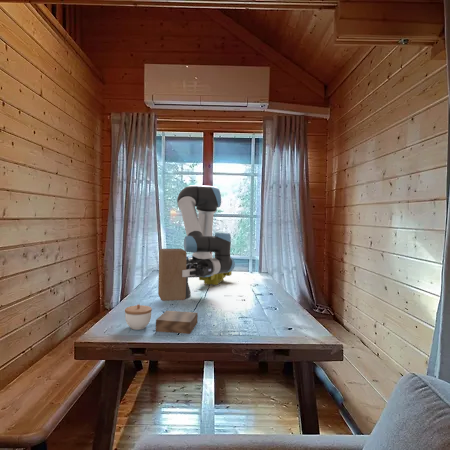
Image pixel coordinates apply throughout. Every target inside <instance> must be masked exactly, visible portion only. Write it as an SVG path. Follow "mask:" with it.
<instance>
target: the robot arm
mask: <svg viewBox="0 0 450 450" xmlns="http://www.w3.org/2000/svg"><path fill="white" fill-rule="evenodd" d="M221 195H222V194H221V192H220V189H219V188H218V187H217V186H213V185H194V184H192V185H188V186H185V187H184V188H182V190H181V191H180V192H179V193H178V195H177V200H176V203H177V207H178V209H179V210H180V212H181V217H182V220H183V224H184V229H185V233H186V236H184V239H183V248H184V249H183V250H185V251H186V253H192V256H191V257H190V256H189V255H188V254H187V259H186V270H182V277H186V298H185V299H187V298H190V297H191V295H192V293H191V289H190V285H189V279H190V278H199V277H210V276H213V274H220V273H227V272H230V271H233V270H234V269H235V266H236V264H235V260H234V257H232V256H231V246H232V245H231V244H232V240H231V239H232V238H231V233H230V232H226V231H224V232H223V231H219V232H218V231H216V232H215V234H214V235H212V234H213V223H214V216H215V215H214V214H215V213H216V212H217V211H218V208H220V207H221V206H222V205H221V204H222V196H221ZM197 212H198V213H197ZM212 253H214V257H213V254H212Z"/></svg>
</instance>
